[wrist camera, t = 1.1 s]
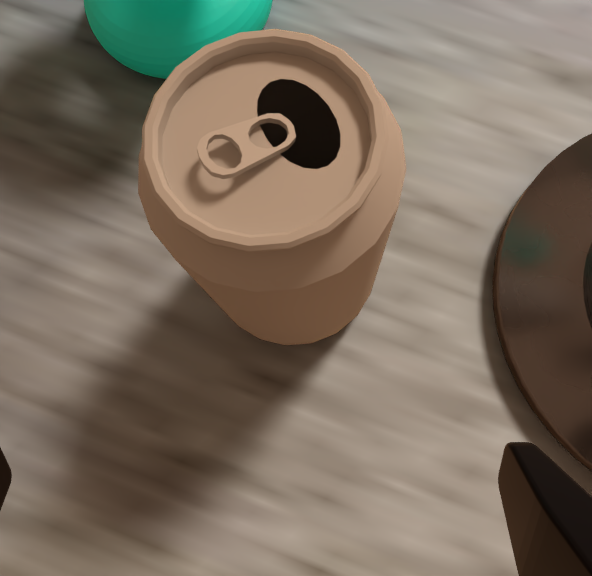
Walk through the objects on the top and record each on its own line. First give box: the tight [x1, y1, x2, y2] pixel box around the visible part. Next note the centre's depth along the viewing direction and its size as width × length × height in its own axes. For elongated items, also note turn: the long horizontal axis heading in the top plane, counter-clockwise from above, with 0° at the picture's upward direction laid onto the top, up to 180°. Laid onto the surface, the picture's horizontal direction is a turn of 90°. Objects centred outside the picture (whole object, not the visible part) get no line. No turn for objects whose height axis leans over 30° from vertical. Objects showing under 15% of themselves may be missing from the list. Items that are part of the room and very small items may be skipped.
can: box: [138, 29, 406, 345], centre depth 18 cm, size 8×8×12 cm
